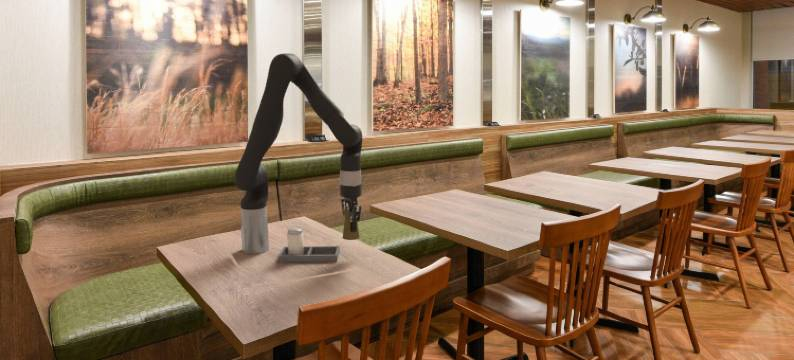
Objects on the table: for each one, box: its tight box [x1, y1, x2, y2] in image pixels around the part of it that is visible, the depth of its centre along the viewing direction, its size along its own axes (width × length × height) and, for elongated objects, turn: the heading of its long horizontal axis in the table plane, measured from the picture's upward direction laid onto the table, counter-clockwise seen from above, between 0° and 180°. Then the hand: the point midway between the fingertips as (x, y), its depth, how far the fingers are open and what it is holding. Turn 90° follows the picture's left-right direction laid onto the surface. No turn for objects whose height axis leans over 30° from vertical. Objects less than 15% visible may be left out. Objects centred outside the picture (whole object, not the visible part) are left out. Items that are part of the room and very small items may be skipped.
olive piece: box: [342, 208, 360, 241], centre depth 193 cm, size 6×6×11 cm
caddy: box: [277, 245, 341, 263], centre depth 195 cm, size 20×11×3 cm, turn 91°
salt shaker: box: [286, 227, 305, 255], centre depth 194 cm, size 6×6×10 cm
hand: (351, 229), depth 193 cm, fingers closed on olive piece, 4 cm apart
